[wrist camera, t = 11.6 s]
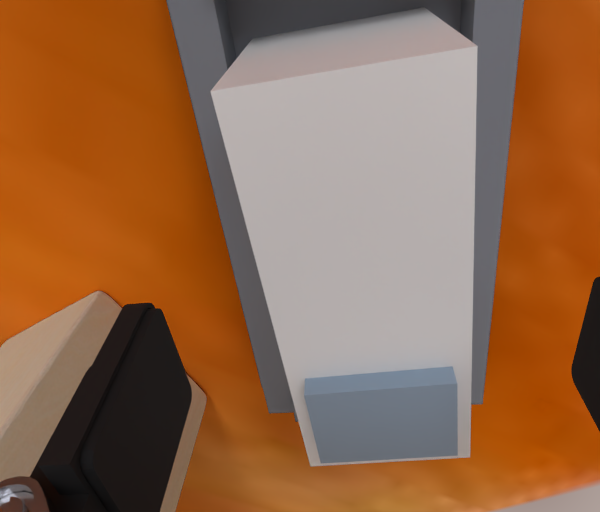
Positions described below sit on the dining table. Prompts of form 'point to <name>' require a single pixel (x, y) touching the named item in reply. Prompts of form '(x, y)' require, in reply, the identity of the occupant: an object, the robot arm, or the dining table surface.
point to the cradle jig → (324, 11)
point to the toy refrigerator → (66, 387)
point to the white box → (363, 226)
